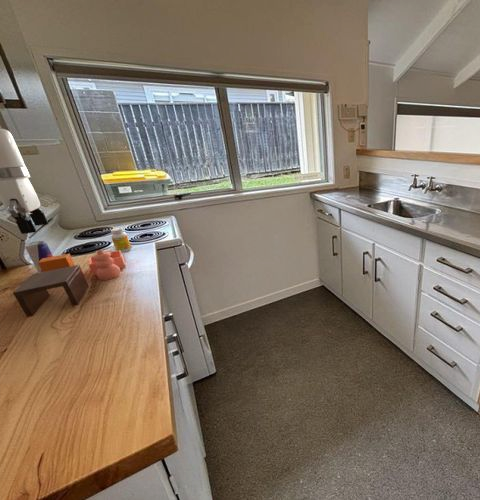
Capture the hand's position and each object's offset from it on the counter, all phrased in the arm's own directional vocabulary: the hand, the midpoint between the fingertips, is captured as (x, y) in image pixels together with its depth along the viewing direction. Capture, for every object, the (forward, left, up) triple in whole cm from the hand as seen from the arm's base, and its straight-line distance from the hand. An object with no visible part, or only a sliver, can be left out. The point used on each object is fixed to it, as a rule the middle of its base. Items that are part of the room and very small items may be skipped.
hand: (35, 228), depth 90 cm
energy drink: (-6, +12, -20) cm, 24 cm away
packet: (+1, 0, -20) cm, 20 cm away
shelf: (+4, -16, -20) cm, 25 cm away
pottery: (+13, +1, -20) cm, 24 cm away
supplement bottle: (+15, +24, -20) cm, 34 cm away
